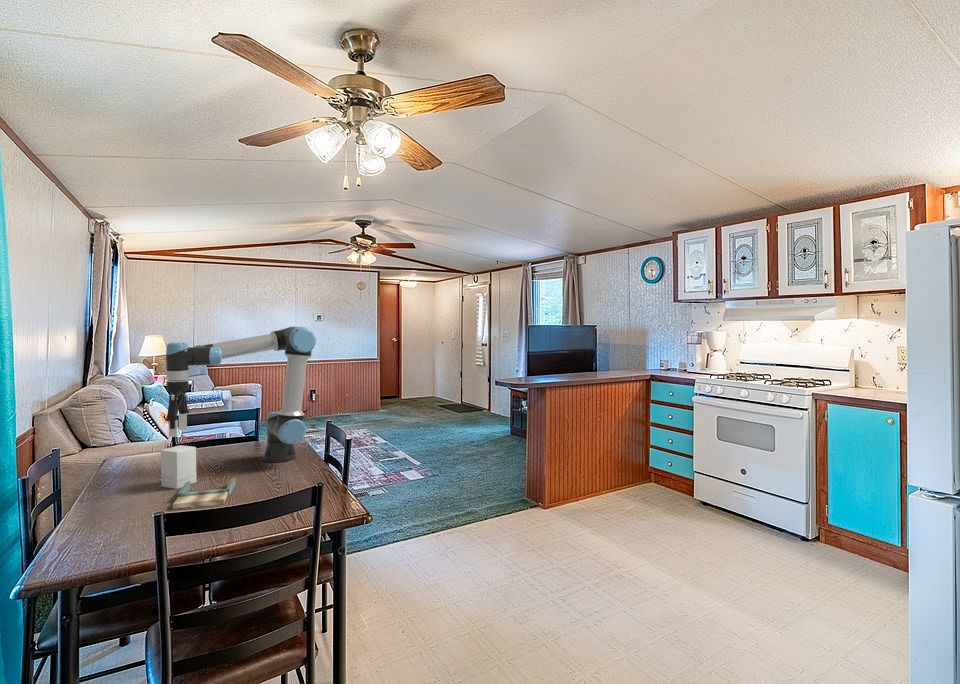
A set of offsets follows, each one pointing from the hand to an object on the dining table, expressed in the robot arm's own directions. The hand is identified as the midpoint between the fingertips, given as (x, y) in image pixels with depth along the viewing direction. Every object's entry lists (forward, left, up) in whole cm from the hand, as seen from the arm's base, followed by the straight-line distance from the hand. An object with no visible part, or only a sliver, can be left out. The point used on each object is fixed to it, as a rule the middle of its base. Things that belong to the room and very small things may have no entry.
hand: (178, 433), depth 190 cm
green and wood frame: (-13, +18, -21) cm, 31 cm away
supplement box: (0, 0, -21) cm, 21 cm away
